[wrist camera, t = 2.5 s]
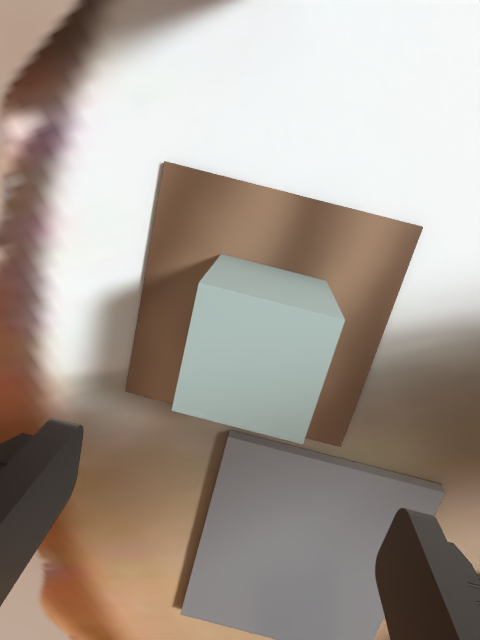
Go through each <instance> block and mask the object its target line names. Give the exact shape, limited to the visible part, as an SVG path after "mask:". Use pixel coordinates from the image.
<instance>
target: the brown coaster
mask: <svg viewBox="0 0 480 640" xmlns="http://www.w3.org/2000/svg"><path fill="white" fill-rule="evenodd" d="M422 229H423V227H422V226H418V225H414V224H410V223H406V222H402V221H398V220H394V219H390V218H386V217H382V216H378V215H374V214H370V213H366V212H363V211H359V210H355V209H351V208H347V207H343V206H339V205H335V204H331V203H327V202H323V201H319V200H315V199H311V198H307V197H303V196H299V195H296V194H292V193H288V192H284V191H280V190H276V189H272V188H268V187H264V186H260V185H256V184H252V183H248V182H244V181H240V180H236V179H232V178H228V177H225V176H221V175H217V174H213V173H209V172H205V171H201V170H197V169H193V168H189V167H185V166H181V165H177V164H173V163H169V162H165V161H164V166H163V172H162V178H161V184H160V190H159V196H158V202H157V208H156V214H155V220H154V226H153V231H152V237H151V243H150V249H149V255H148V261H147V267H146V273H145V279H144V285H143V291H142V296H141V302H140V308H139V314H138V320H137V326H136V332H135V338H134V344H133V350H132V356H131V361H130V367H129V373H128V379H127V385H126V392H129V393H133V394H137V395H141V396H145V397H149V398H153V399H157V400H161V401H164V402H168V403H172V404H173V402H174V397H175V392H176V387H177V383H178V378H179V373H180V369H181V364H182V359H183V355H184V350H185V345H186V341H187V336H188V331H189V326H190V322H191V317H192V312H193V308H194V303H195V298H196V294H197V289H198V284H199V282H200V280H201V279H202V278H203V277H204V275H205V274H206V273H207V272H208V270H209V269H210V268H211V266H212V265H213V264H214V263H215V261H216V260H217V259H218V257H219V256H220V255H221V254H223V255H227V256H231V257H235V258H239V259H243V260H247V261H251V262H255V263H259V264H262V265H266V266H270V267H274V268H278V269H282V270H286V271H290V272H294V273H298V274H302V275H306V276H310V277H314V278H317V279H321V280H325V281H327V283H328V285H329V287H330V289H331V291H332V294H333V296H334V298H335V300H336V302H337V304H338V306H339V308H340V310H341V312H342V314H343V316H344V319H345V322H344V325H343V328H342V331H341V334H340V337H339V340H338V343H337V345H336V348H335V351H334V354H333V357H332V360H331V363H330V366H329V369H328V372H327V375H326V378H325V381H324V384H323V387H322V390H321V393H320V395H319V398H318V401H317V404H316V407H315V410H314V413H313V416H312V419H311V422H310V425H309V428H308V431H307V434H306V437H305V438H308V439H312V440H316V441H320V442H324V443H328V444H331V445H335V446H339V447H341V444H342V442H343V439H344V436H345V434H346V431H347V428H348V426H349V423H350V420H351V418H352V415H353V412H354V410H355V407H356V404H357V402H358V399H359V396H360V394H361V391H362V388H363V386H364V383H365V380H366V378H367V375H368V372H369V370H370V367H371V364H372V362H373V359H374V356H375V354H376V351H377V348H378V346H379V343H380V340H381V338H382V335H383V332H384V330H385V327H386V324H387V322H388V319H389V316H390V314H391V311H392V308H393V306H394V303H395V300H396V298H397V295H398V292H399V290H400V287H401V285H402V282H403V279H404V277H405V274H406V271H407V269H408V266H409V263H410V261H411V258H412V255H413V253H414V250H415V247H416V245H417V242H418V239H419V237H420V234H421V231H422Z"/></svg>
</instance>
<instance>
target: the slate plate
mask: <svg viewBox="0 0 480 640" xmlns="http://www.w3.org/2000/svg"><path fill="white" fill-rule="evenodd" d="M444 495H445V491H444V489H443V487H442V485H441V484H438V483H435V482H431V481H427V480H423V479H419V478H415V477H411V476H407V475H404V474H400V473H396V472H392V471H388V470H384V469H380V468H376V467H372V466H369V465H365V464H361V463H357V462H353V461H349V460H345V459H341V458H338V457H334V456H330V455H326V454H322V453H318V452H314V451H310V450H307V449H303V448H299V447H295V446H291V445H287V444H283V443H279V442H275V441H272V440H268V439H264V438H260V437H256V436H252V435H248V434H244V433H241V432H237V431H233V430H230V431H229V434H228V438H227V442H226V446H225V449H224V453H223V457H222V460H221V464H220V468H219V472H218V475H217V479H216V483H215V486H214V490H213V494H212V498H211V501H210V505H209V509H208V512H207V516H206V520H205V524H204V527H203V531H202V535H201V538H200V542H199V546H198V550H197V553H196V557H195V561H194V564H193V568H192V572H191V575H190V579H189V583H188V587H187V590H186V594H185V598H184V601H183V605H182V610H181V615H184V616H188V617H192V618H196V619H200V620H204V621H207V622H211V623H215V624H219V625H223V626H227V627H230V628H234V629H238V630H242V631H246V632H250V633H253V634H257V635H261V636H265V637H269V638H273V639H276V640H373V639H374V637H375V635H376V633H377V631H378V629H379V627H380V625H381V623H382V621H383V619H384V617H385V615H384V611H383V607H382V603H381V600H380V596H379V592H378V588H377V584H376V578H375V563H376V558H377V554H378V552H379V549H380V547H381V545H382V543H383V541H384V538H385V536H386V534H387V532H388V530H389V527H390V525H391V523H392V521H393V519H394V516H395V514H396V512H397V511H398V510H399V509H400V508H406V509H410V510H414V511H418V512H421V513H425V514H429V515H433V516H434V515H435V513H436V511H437V509H438V507H439V505H440V503H441V501H442V499H443V497H444Z"/></svg>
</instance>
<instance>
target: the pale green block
mask: <svg viewBox="0 0 480 640" xmlns="http://www.w3.org/2000/svg"><path fill="white" fill-rule="evenodd" d="M344 322H345V319H344V316H343V314H342V312H341V310H340V308H339V306H338V304H337V302H336V300H335V298H334V296H333V294H332V291H331V289H330V287H329V285H328V283H327V281H325V280H321V279H317V278H314V277H310V276H306V275H302V274H298V273H294V272H290V271H286V270H282V269H278V268H274V267H270V266H266V265H262V264H259V263H255V262H251V261H247V260H243V259H239V258H235V257H231V256H227V255H223V254H221V255H220V256H219V257H218V259H217V260H216V261H215V263H214V264H213V265H212V266H211V268H210V269H209V270H208V272H207V273H206V274H205V275H204V277H203V278H202V279H201V280H200V282H199V284H198V289H197V294H196V298H195V303H194V308H193V312H192V317H191V322H190V326H189V331H188V336H187V341H186V345H185V350H184V355H183V359H182V364H181V369H180V373H179V378H178V383H177V387H176V392H175V397H174V402H173V406H172V411H175V412H179V413H183V414H186V415H190V416H194V417H198V418H202V419H206V420H210V421H214V422H217V423H221V424H225V425H229V426H233V427H237V428H241V429H245V430H249V431H252V432H256V433H260V434H264V435H268V436H272V437H276V438H280V439H283V440H287V441H291V442H295V443H299V444H303V443H304V440H305V437H306V434H307V431H308V428H309V425H310V422H311V419H312V416H313V413H314V410H315V407H316V404H317V401H318V398H319V395H320V393H321V390H322V387H323V384H324V381H325V378H326V375H327V372H328V369H329V366H330V363H331V360H332V357H333V354H334V351H335V348H336V345H337V343H338V340H339V337H340V334H341V331H342V328H343V325H344Z"/></svg>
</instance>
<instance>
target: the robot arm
mask: <svg viewBox="0 0 480 640" xmlns="http://www.w3.org/2000/svg"><path fill="white" fill-rule="evenodd" d="M82 439H83V426H82V425H78V424H74V423H70V422H66V421H62V420H58V419H54V418H51V419H50V420H49V421H47V423H46V424H45V425H44V426H43V427H42V428H41V429H40V430H39V431H38V432H37V433H36V434H35V435H34V436H32V435H28V434H24V433H22V434H20V435H18V436H16V437H14V438H12V439H10V440H7V441H5V442H3V443H1V444H0V606H1V605H2V603H3V601H4V600H5V598H6V597H7V595H8V594H9V592H10V591H11V589H12V587H13V586H14V584H15V583H16V581H17V580H18V578H19V577H20V575H21V573H22V572H23V570H24V569H25V567H26V566H27V564H28V563H29V561H30V559H31V558H32V556H33V555H34V553H35V552H36V550H37V549H38V547H39V545H40V544H41V542H42V541H43V539H44V538H45V536H46V535H47V533H48V531H49V530H50V528H51V527H52V525H53V524H54V522H55V521H56V519H57V517H58V516H59V514H60V513H61V511H62V510H63V508H64V507H65V505H66V503H67V502H68V500H69V498H70V496H71V494H72V491H73V489H74V486H75V483H76V479H77V474H78V467H79V460H80V453H81V446H82ZM375 578H376V584H377V588H378V592H379V596H380V600H381V603H382V607H383V611H384V615H385V619H386V623H387V627H388V631H389V635H390V639H391V640H480V579H479V577H478V575H477V573H476V572H475V570H474V568H473V566H472V564H471V563H470V562H469V560H468V559H467V558H466V557H465V556H464V555H463V554H462V552H461V551H460V550H459V549H458V548H457V547H456V546H455V544H454V543H450V542H447V540H446V538H445V536H444V534H443V531H442V529H441V527H440V525H439V523H438V521H437V519H436V518H435V517H434V516H433V515H429V514H425V513H421V512H418V511H414V510H410V509H406V508H400V509H399V510H398V511H397V512H396V514H395V516H394V519H393V521H392V523H391V525H390V527H389V530H388V532H387V534H386V536H385V538H384V541H383V543H382V545H381V547H380V549H379V552H378V554H377V558H376V563H375Z"/></svg>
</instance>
